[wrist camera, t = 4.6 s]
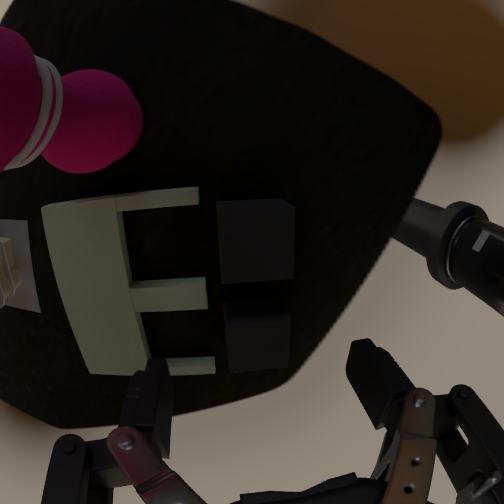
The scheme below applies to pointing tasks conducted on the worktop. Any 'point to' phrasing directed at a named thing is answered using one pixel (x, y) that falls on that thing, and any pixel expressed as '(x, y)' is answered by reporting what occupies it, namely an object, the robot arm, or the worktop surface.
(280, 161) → the worktop surface
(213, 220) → the worktop surface
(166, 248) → the worktop surface
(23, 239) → the stacked layers on plate
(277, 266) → the dark charcoal cube
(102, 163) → the pepper mill
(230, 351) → the black block
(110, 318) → the pale green e-shaped block
